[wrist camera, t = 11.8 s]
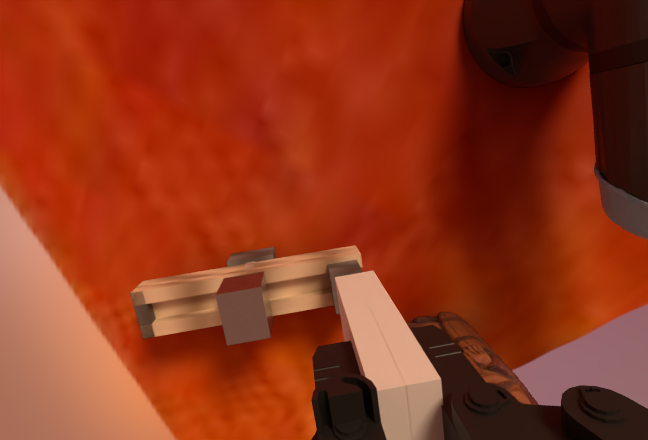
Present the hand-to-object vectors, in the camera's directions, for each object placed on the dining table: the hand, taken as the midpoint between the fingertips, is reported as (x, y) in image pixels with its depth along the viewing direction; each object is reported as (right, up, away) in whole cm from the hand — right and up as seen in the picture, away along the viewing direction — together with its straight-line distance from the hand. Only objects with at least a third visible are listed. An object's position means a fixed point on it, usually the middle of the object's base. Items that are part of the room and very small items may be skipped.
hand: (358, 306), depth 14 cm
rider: (-9, -4, +24) cm, 26 cm away
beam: (-9, -3, +29) cm, 31 cm away
